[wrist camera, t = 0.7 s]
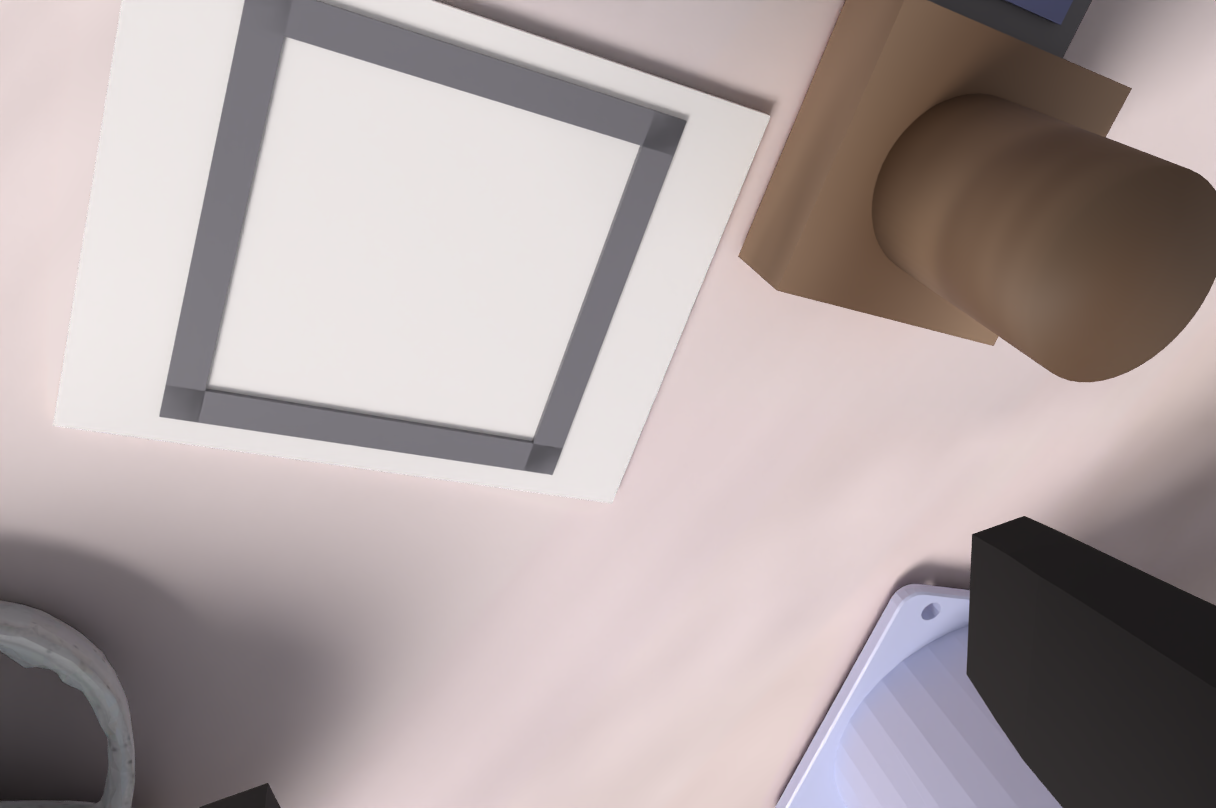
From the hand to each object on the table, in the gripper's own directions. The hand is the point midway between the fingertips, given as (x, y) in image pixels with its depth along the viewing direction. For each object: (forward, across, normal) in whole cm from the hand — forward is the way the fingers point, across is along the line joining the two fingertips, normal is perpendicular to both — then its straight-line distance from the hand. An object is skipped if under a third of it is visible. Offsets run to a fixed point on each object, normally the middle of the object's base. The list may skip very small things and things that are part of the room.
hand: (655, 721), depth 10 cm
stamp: (+10, -8, -1) cm, 13 cm away
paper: (+10, 0, -1) cm, 10 cm away
